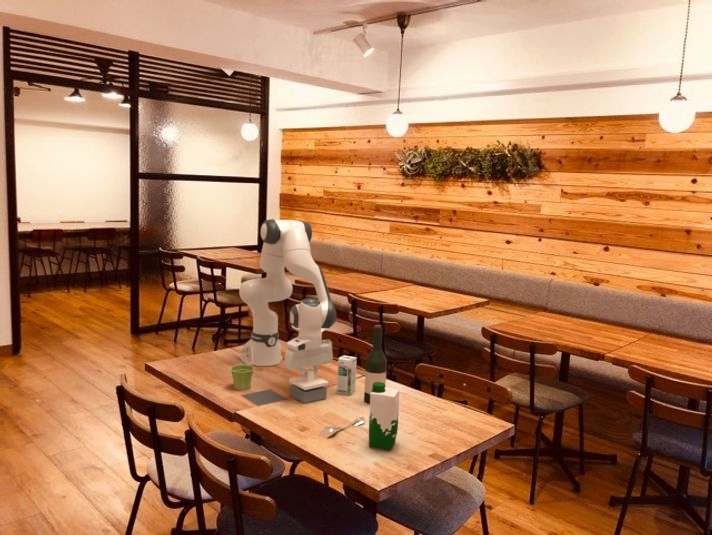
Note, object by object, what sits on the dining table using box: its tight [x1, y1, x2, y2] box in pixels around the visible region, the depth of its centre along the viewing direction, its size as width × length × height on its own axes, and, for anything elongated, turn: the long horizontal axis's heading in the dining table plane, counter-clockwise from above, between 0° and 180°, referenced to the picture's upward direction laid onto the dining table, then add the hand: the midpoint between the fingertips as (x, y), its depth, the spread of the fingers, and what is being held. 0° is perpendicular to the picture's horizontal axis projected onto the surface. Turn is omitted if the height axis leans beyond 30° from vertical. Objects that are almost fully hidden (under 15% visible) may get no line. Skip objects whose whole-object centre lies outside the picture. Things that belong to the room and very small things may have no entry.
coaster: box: [241, 389, 288, 407], centre depth 230 cm, size 13×13×1 cm
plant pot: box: [229, 364, 255, 391], centre depth 239 cm, size 9×9×9 cm
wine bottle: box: [363, 324, 388, 406], centre depth 230 cm, size 8×8×30 cm
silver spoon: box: [320, 416, 366, 439], centre depth 205 cm, size 20×4×5 cm
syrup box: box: [336, 354, 358, 396], centre depth 240 cm, size 6×6×14 cm
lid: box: [288, 368, 330, 390], centre depth 231 cm, size 11×11×5 cm
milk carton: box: [368, 382, 400, 451], centre depth 192 cm, size 9×9×20 cm
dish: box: [289, 384, 328, 405], centre depth 231 cm, size 10×10×5 cm
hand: (308, 377), depth 231 cm, fingers closed on lid, 3 cm apart
